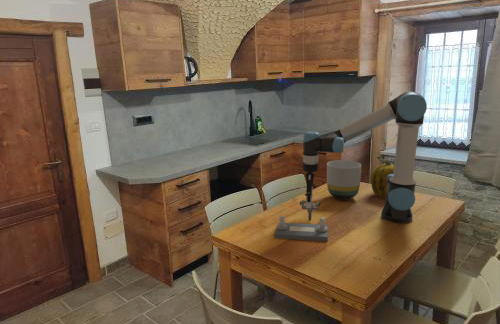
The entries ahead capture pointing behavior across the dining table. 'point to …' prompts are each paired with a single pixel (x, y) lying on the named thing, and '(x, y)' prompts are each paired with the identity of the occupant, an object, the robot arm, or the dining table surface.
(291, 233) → the gear board
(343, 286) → the dining table surface
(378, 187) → the pumpkin
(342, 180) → the planter
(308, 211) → the mechanical component
